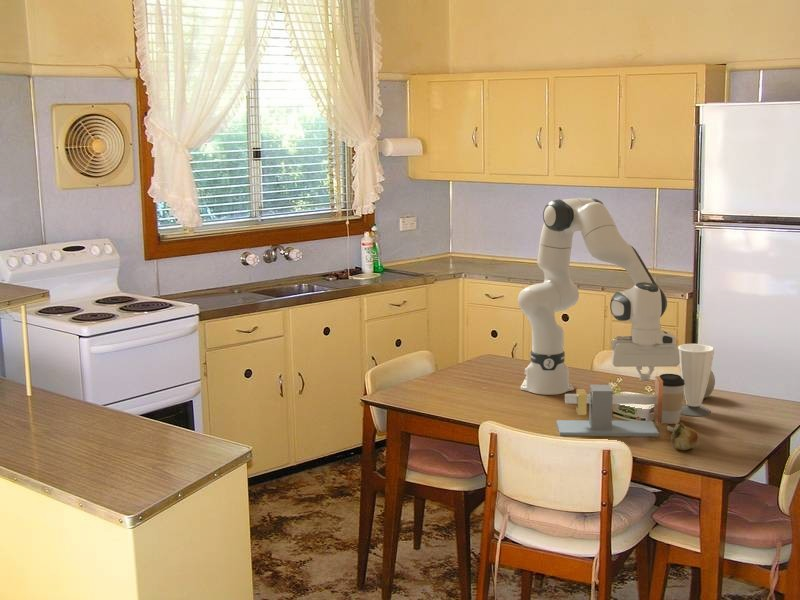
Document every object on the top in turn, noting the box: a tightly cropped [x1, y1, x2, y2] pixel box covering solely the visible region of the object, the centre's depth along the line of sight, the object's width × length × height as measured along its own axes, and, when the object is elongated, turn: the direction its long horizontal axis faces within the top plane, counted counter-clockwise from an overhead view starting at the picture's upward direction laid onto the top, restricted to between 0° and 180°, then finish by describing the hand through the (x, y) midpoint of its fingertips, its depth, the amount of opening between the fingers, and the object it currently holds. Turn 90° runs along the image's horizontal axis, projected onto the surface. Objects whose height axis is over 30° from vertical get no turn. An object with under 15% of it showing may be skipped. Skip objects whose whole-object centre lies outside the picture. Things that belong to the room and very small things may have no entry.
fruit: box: [703, 370, 716, 399], centre depth 336 cm, size 10×12×15 cm
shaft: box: [564, 375, 663, 425], centre depth 304 cm, size 6×29×14 cm, turn 86°
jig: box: [555, 384, 660, 437], centre depth 304 cm, size 12×30×14 cm, turn 86°
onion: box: [666, 421, 699, 451], centre depth 287 cm, size 8×8×8 cm
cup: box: [677, 343, 715, 417], centre depth 321 cm, size 12×12×22 cm
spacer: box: [575, 388, 588, 416], centre depth 304 cm, size 6×2×6 cm, turn 176°
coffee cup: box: [659, 373, 685, 425], centre depth 312 cm, size 9×9×15 cm
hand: (644, 380), depth 302 cm, fingers closed
